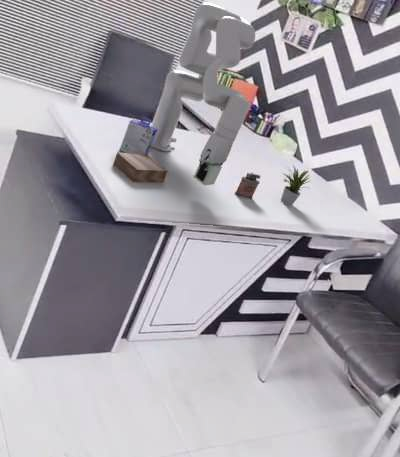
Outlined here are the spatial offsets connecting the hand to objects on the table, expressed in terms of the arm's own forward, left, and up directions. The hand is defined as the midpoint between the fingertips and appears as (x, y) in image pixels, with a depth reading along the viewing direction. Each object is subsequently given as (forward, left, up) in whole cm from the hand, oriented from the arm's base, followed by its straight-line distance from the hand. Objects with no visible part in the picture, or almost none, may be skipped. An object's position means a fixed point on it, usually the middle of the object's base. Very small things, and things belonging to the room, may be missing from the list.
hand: (204, 178), depth 182 cm
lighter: (-27, +4, -8) cm, 28 cm away
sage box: (0, 0, -1) cm, 1 cm away
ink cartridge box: (+2, -31, -8) cm, 32 cm away
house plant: (-50, +12, -8) cm, 52 cm away
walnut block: (+13, -17, -8) cm, 23 cm away
